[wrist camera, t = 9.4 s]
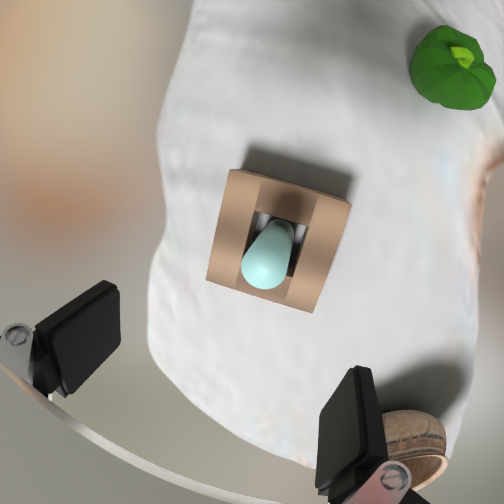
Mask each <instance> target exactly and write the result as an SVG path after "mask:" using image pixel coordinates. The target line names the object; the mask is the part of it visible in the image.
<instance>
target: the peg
mask: <svg viewBox="0 0 504 504" xmlns="http://www.w3.org/2000/svg"><path fill="white" fill-rule="evenodd" d="M293 239H294V230H293V228H292V226H291V225H290V224H289V223H288V222H287V221H285V220H282V219H275V220H272V221H270V222H269V223H268V224H267V225H266V226H265V227H264V229H263V230H262V232H261V233H260V234H259V236H258V237H257V238H256V240H255V241H254V243H253V244H252V245H251V247H250V248H249V250H248V251H247V252H246V254H245V255H244V257H243V259H242V262H241V270H242V274H243V276H244V278H245V279H246V281H247V282H248V283H249V284H251V285H252V286H254V287H256V288H259V289H271V288H274V287H276V286H278V285H279V284H280V283H281V282H282V281H283V280H284V278H285V276H286V273H287V268H288V263H289V259H290V254H291V249H292V244H293Z"/></svg>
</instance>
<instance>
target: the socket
mask: <svg viewBox="0 0 504 504" xmlns="http://www.w3.org/2000/svg"><path fill="white" fill-rule="evenodd" d="M351 205H352V204H350V203H349V202H348V201H347V200H346V199H343V198H340V197H337V196H334V195H330V194H327V193H324V192H321V191H318V190H315V189H311V188H308V187H305V186H301V185H298V184H294V183H291V182H288V181H284V180H280V179H277V178H273V177H269V176H266V175H262V174H258V173H254V172H250V171H246V170H242V169H230V170H229V174H228V179H227V183H226V187H225V191H224V196H223V200H222V205H221V209H220V213H219V218H218V223H217V227H216V232H215V237H214V241H213V246H212V251H211V256H210V261H209V266H208V271H207V276H206V280H207V281H210V282H213V283H216V284H219V285H222V286H225V287H228V288H231V289H234V290H238V291H241V292H244V293H247V294H250V295H253V296H256V297H260V298H263V299H266V300H269V301H272V302H276V303H279V304H282V305H286V306H289V307H292V308H296V309H299V310H302V311H306V312H309V313H313V311H314V308H315V306H316V303H317V301H318V298H319V296H320V293H321V291H322V288H323V286H324V283H325V280H326V278H327V275H328V272H329V270H330V267H331V264H332V262H333V259H334V256H335V253H336V250H337V247H338V245H339V242H340V239H341V236H342V233H343V230H344V227H345V224H346V221H347V218H348V215H349V211H350V208H351ZM259 212H261V213H265V214H268V215H272V216H275V217H278V218H282V219H285V220H289V221H292V222H295V223H299V224H302V225H305V226H306V229H305V232H304V236H303V239H302V242H301V245H300V248H299V252H298V255H297V258H296V261H295V263H292V262H289V263H288V268H287V273H286V276H285V278H284V280H283V281H282V282H281V283H280V284H279V285H278V286H276V287H274V288H271V289H259V288H256V287H254V286H252V285H251V284H249V283H248V282H247V281H246V279H245V278H244V276H243V274H242V270H241V262H242V259H243V257H244V255H245V254H246V252H247V251H248V250H249V248H250V247H251V243H252V239H253V235H254V231H255V227H256V224H257V220H258V216H259Z"/></svg>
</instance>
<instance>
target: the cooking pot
mask: <svg viewBox="0 0 504 504" xmlns="http://www.w3.org/2000/svg"><path fill="white" fill-rule="evenodd" d="M382 418H383V424H384V430H385V436H386V443H387V450H388V458H389V461H398V462H401V463H402V464H404V465H405V466H406V467H407V468H408V469H409V471H410V473H411V477H412V481H411V485H410V488H411V489H412V490H414V491H417V490H419V489H421V488H423V487H425V486H426V485H428V484H430V483H431V482H433V481H434V480H435V479H437V478H438V477H439V476H440V475H441V474H442V473H443V472H444V471H445V470H446V468H447V467H448V464H449V460H448V458H447V457H446V456H445V451H446V433H445V429H444V427H443V425H442V424H441V423H440V421H439V420H438V419H436V418H435V417H433V416H432V415H430V414H428V413H425V412H422V411H417V410H399V411H392V412H387V413H383V414H382Z"/></svg>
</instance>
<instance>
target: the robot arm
mask: <svg viewBox="0 0 504 504" xmlns="http://www.w3.org/2000/svg"><path fill="white" fill-rule="evenodd" d="M35 328H36V330H35V331H32V329H31V328H30V327H29V326H28V325H26V324H22V323H15V324H12V325H10V326H8V327H7V328H6V329H5V330H4V331H3V333H2V335H1V336H0V504H285V503H278V502H273V501H268V500H262V499H257V498H253V497H248V496H244V495H240V494H237V493H232V492H229V491H226V490H222V489H219V488H215V487H212V486H209V485H206V484H203V483H200V482H197V481H194V480H191V479H189V478H186V477H183V476H181V475H178V474H176V473H173V472H171V471H168V470H166V469H163V468H161V467H159V466H157V465H155V464H152V463H150V462H148V461H146V460H144V459H142V458H140V457H138V456H136V455H134V454H132V453H130V452H128V451H126V450H125V449H123V448H121V447H119V446H117V445H115V444H113V443H112V442H110V441H109V440H107V439H105V438H104V437H102V436H100V435H99V434H97V433H95V432H94V431H92V430H91V429H89V428H87V427H86V426H85V425H83V424H82V423H80V422H79V421H77V420H76V419H74V418H73V417H72V416H70V415H69V414H67V413H66V412H65V411H63V410H62V409H61V408H59V407H58V406H57V405H55V404H54V403H53V402H52V393H53V392H54V391H55V390H56V391H57V392H58V393H59V394H60V395H62V396H63V397H64V398H66V397H67V396H68V395H69V394H73V393H74V392H75V391H76V390H77V389H78V388H79V387H80V386H81V385H82V384H83V383H84V382H85V380H87V379H88V378H89V377H90V375H91V374H92V373H93V372H94V371H95V370H96V369H97V368H98V367H99V366H100V365H101V364H102V363H103V362H104V361H105V360H106V359H107V358H108V357H109V356H110V355H111V354H112V353H113V352H114V351H115V350H116V349H117V348H118V346H119V345H120V342H121V334H120V293H119V290H117V286H116V285H115V284H113V283H110V282H108V281H106V280H103V281H101V282H99V283H98V284H96V285H95V286H93V287H92V288H90V289H88V290H87V291H85V292H84V293H83V294H81V295H79V296H78V297H76V298H75V299H73V300H72V301H70V302H69V303H67V304H66V305H64V306H63V307H61V308H60V309H58V310H57V311H56V312H54V313H53V314H51V315H50V316H48V317H47V318H45V319H44V320H42V321H41V322H40V323H38V324H37V325H35ZM411 481H412V477H411V473H410V471H409V469H408V468H407V467H406V466H405V465H404V464H402V463H401V462H398V461H389V458H388V450H387V443H386V436H385V430H384V424H383V418H382V412H381V407H380V405H379V404H378V401H377V396H376V391H375V386H374V381H373V376H372V372H371V369H370V368H367V367H362V366H358V365H357V366H355V367H354V368H350V369H349V370H348V371H347V373H346V375H345V376H344V378H343V379H342V381H341V382H340V384H339V386H338V387H337V389H336V390H335V392H334V393H333V395H332V396H331V398H330V399H329V401H328V402H327V403H326V405H325V406H324V408H323V409H322V411H321V413H320V417H319V436H318V453H317V467H316V479H315V487H316V488H319V490H318V495H324V496H328V502H329V503H328V504H430V503H429V502H427V501H426V500H425V499H423V498H422V497H421V496H420V495H419V494H417V493H416V492H415V491H414V490H412V489H411V488H410V485H411Z"/></svg>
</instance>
